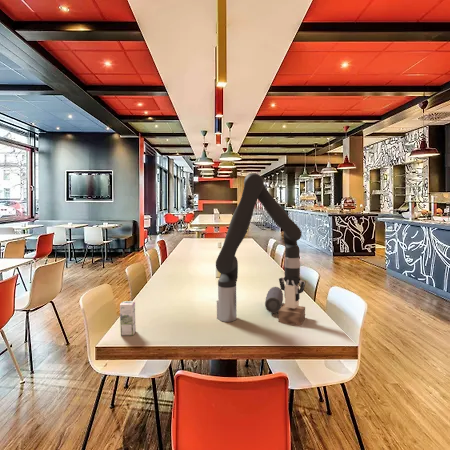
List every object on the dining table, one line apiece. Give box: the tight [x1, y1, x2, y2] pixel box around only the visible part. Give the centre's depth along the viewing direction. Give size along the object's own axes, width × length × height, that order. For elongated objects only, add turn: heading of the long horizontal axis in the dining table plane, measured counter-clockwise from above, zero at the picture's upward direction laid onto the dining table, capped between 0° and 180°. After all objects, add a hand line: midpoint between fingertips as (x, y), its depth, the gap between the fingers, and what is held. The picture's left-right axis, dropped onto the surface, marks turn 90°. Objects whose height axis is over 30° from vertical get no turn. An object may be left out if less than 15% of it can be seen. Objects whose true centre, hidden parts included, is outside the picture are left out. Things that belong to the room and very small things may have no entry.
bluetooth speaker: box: [264, 286, 284, 314], centre depth 191 cm, size 23×9×10 cm, turn 168°
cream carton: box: [284, 283, 300, 308], centre depth 173 cm, size 5×5×12 cm
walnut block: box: [277, 303, 306, 326], centre depth 173 cm, size 11×11×6 cm
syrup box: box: [119, 300, 137, 337], centre depth 157 cm, size 6×6×14 cm
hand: (291, 299), depth 173 cm, fingers closed on cream carton, 5 cm apart
